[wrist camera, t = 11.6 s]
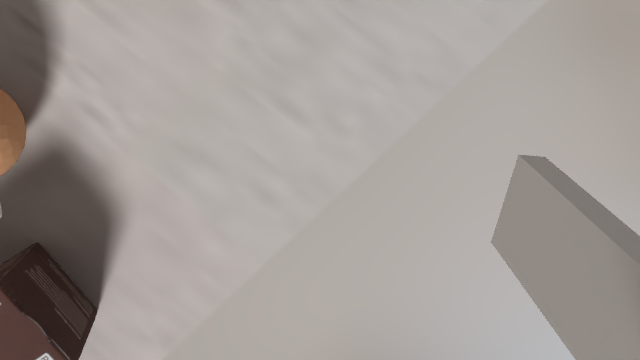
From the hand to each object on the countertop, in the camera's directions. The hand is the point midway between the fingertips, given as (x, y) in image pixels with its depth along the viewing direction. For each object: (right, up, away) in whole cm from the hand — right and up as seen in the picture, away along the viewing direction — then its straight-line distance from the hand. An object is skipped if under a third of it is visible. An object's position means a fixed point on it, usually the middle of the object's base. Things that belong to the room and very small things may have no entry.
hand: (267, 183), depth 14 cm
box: (-17, -8, +20) cm, 27 cm away
